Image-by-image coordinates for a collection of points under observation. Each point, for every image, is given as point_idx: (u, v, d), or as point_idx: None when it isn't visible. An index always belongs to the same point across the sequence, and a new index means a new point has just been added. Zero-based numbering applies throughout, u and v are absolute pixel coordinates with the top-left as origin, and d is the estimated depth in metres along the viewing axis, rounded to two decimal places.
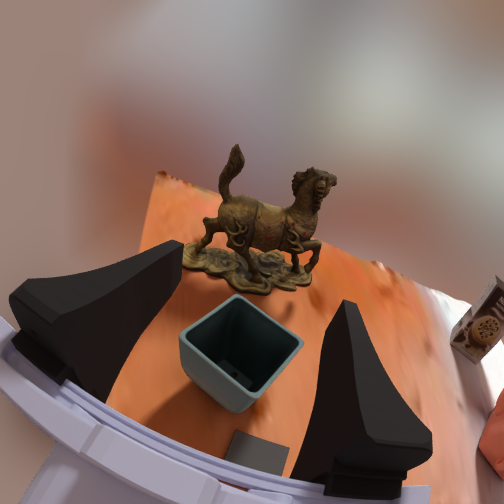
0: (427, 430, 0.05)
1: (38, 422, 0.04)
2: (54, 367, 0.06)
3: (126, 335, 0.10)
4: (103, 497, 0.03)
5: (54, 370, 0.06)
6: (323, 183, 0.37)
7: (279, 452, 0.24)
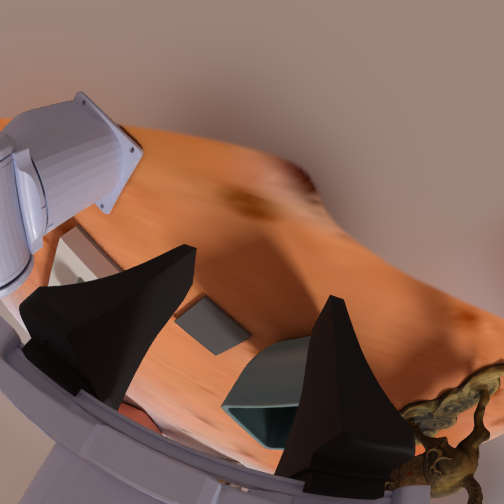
0: (410, 428, 0.05)
1: (38, 422, 0.04)
2: (68, 378, 0.06)
3: (139, 342, 0.09)
4: (102, 497, 0.03)
5: (69, 381, 0.06)
6: None
7: (214, 348, 0.30)
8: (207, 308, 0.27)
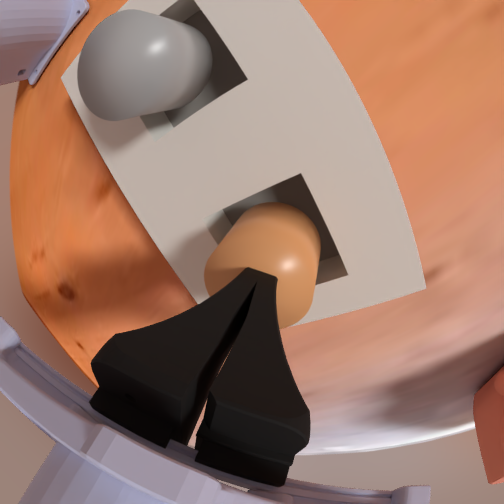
0: (303, 407, 0.06)
1: (38, 422, 0.04)
2: (159, 431, 0.06)
3: (214, 375, 0.09)
4: (103, 498, 0.03)
5: (160, 435, 0.06)
6: None
7: None
8: None
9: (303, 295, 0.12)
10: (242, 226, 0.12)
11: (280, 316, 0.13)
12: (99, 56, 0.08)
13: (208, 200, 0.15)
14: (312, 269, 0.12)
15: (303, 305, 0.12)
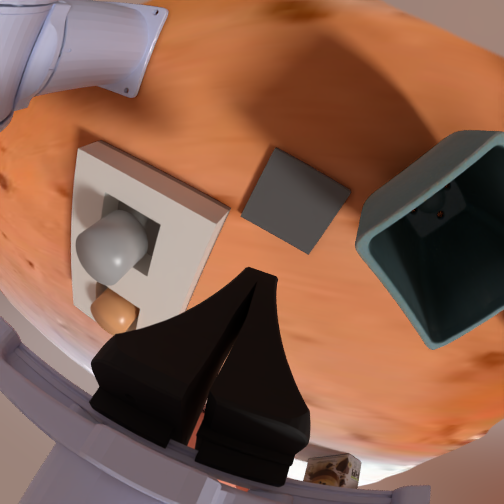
0: (303, 407, 0.06)
1: (38, 422, 0.04)
2: (159, 431, 0.06)
3: (214, 375, 0.09)
4: (103, 497, 0.03)
5: (160, 435, 0.06)
6: None
7: (304, 239, 0.22)
8: (282, 165, 0.19)
9: None
10: (116, 301, 0.28)
11: (108, 329, 0.29)
12: (92, 247, 0.19)
13: None
14: None
15: None
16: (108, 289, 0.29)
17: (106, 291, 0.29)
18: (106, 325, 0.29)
